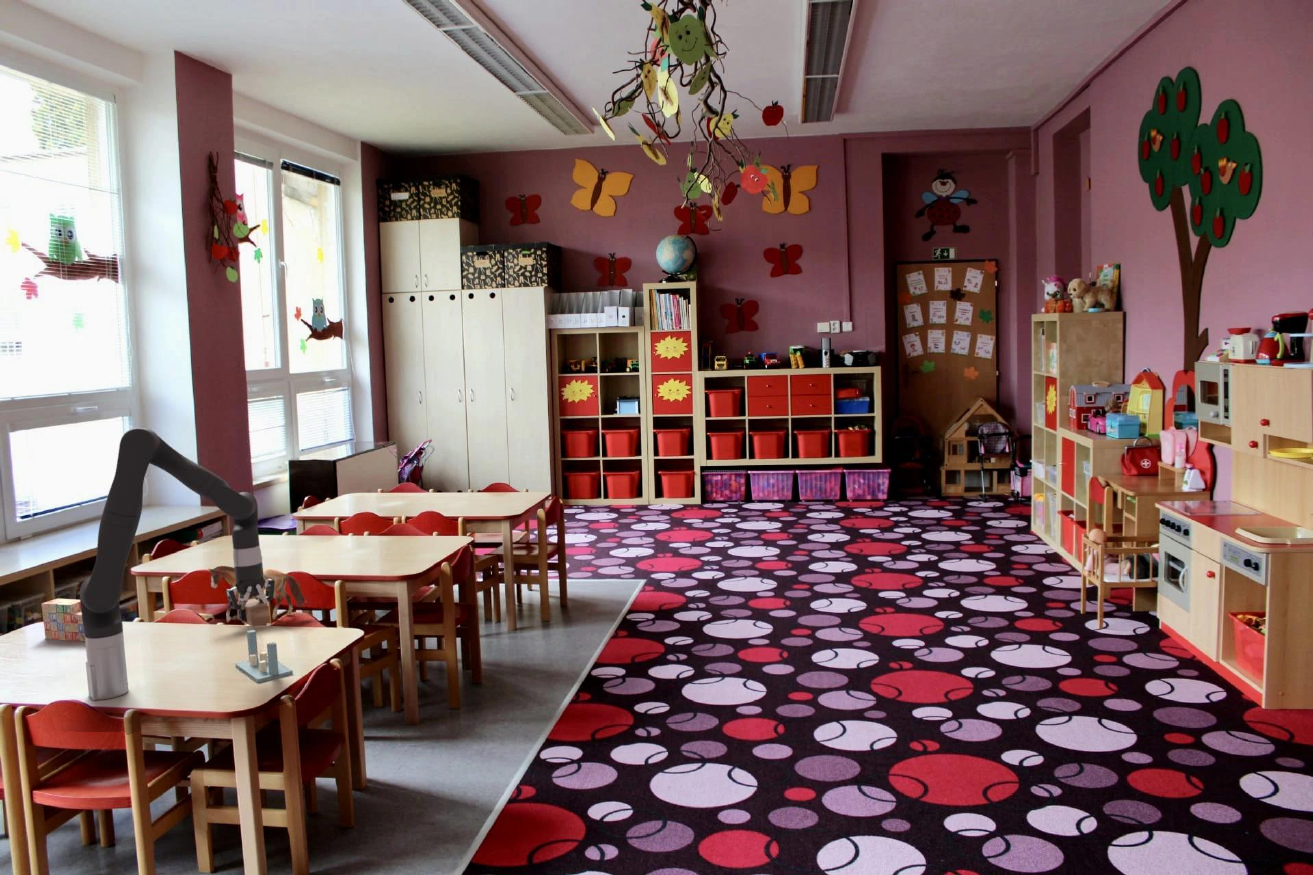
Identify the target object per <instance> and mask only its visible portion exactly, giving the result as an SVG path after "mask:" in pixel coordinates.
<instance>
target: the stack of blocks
mask: <svg viewBox="0 0 1313 875" xmlns="http://www.w3.org/2000/svg"><path fill="white" fill-rule="evenodd" d="M41 610H42V611H41V612H42V621H43V625H44V626H43V629H44V636H45V639H50V640H59V641H60V640H61V641H72V642H73V641H74V642H85V633H84V627H83V621H82V612H81V603H80V599H73V598H72V599H71V598H69V599H68V598H55V599H52V600H48V601H46V602H42V603H41Z"/></svg>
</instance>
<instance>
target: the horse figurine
mask: <svg viewBox="0 0 1313 875" xmlns="http://www.w3.org/2000/svg"><path fill="white" fill-rule="evenodd" d="M207 570H209V571H210V572H209V573H210V579H211V582H210V584H211V585H210V586H211V588H213V589H216V588H217V587H218V584H219V582H220V581H221V580H222V579H224V580H225V581H226V582H227V583H228V585H229V586H230V589H232V588H234V587H235V585H236V579H235V569H234V566H228V565H227V566H226V565H220V566H218V565H217V566H216V567H214V568H207ZM263 578H264V579H265V580H267V579H272V580H274V581H275V585H274V596H273V599H276V601H277V602H276V605H275V606H274V609H273V610H272V619H273V620H275V619H276V618H277V616H278V613H277V612H278V610H279V607H280V605H281V603H282V602H283V601H284V599H285V601H286V602H287V604H288V611H287V612H286V614H285V615H286V616H289V615H288V614H291V613H292V614H293V609H294V607H293V605H292V599H291V598H292V597H291V595H292V596H293V599H294V601H295V603H296V604H297V605H298V607H299V608H301V607H302V606H304V604H306V603H308V601H307V600H306V599H305V597H304V595H303V592H302V589H301V585H300V583H299V582H298V580H297V579H296V578H295V577H293V576H292V575H289V574H288V573H284V572H282V571H279V570H275V569H266V570H263ZM287 583H288V584H289V590H290V593H291V595H289V594H288V592H287V591H286V584H287ZM262 590H263V591H266V586H265V585H264V586H263V588H262ZM239 594H240V593H239V592H238V591H236V595H235V597H236V600H238V597H239ZM231 609H232V608H231V606H230V603H229V602H228V604H227V609H226V614H225V615H226V623H229V622H230V621H231V620H232V617H231V616H230V613H231ZM292 614H291V615H292ZM242 624H246V623H245V622H242Z"/></svg>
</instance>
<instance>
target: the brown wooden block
mask: <svg viewBox="0 0 1313 875" xmlns="http://www.w3.org/2000/svg"><path fill="white" fill-rule="evenodd" d="M237 603H238V601H237ZM236 610H237V612H236V613H237V619H238V620H240V619H239V613H238V609H236ZM245 610H246V618H247V622H245V623H244V624H247V625H248V626H250V627H252V628H253V627H254V628H255V627H259V626H263V625H267V624H271V615H270V606H269V605H268V604H267V605H266V604H264V603H262V602H260V601H259V599H257V598H248V602H247V603H246V606H245Z"/></svg>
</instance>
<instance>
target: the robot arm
mask: <svg viewBox="0 0 1313 875" xmlns="http://www.w3.org/2000/svg"><path fill="white" fill-rule="evenodd" d="M117 455H118V456H117V461H116V468H115V473H114V477H113V480H112V483H111V486H110V489H109V490H108V494H107V497H106V501H105V505H104V507H103V510H102V515H101V518H100V523H99V528H98V533H97V534H98V535H97V544H96V545H97V548H96V549H97V550H96V559H95V563H94V567H93V569H92V572H91V575H90V577H88V578H86V580H84V581H83V583H82V584H81V586H80V589H79V600H80V603H81V612H82V621H83V627H84V633H85V652H86V653H85V654H86V660H87V661H86V662H85V669H86V678H87V680H86V681H87V689H88V696H89V697H90V698H91V700H92V701H97V700H99V701H100V700H107V699H113V698H117V697H120V696H123V695H124V694H126V693H128V691H129V682H128V671H127V670H128V669H127V661H126V660H127V659H126V658H127V657H126V650H125V649H126V648H125V636H124V629H123V628H124V627H123V621H122V616H121V611H120V610H121V609H120V599H121V596H122V587H123V581H124V574H125V570H126V564H127V560H128V558H129V555H130V553H131V550H132V547H133V543H134V540H135V538H136V534H137V530H138V529H139V525H140V520H141V517H142V516H141V515H142V511H143V502H144V482H145V477H146V473H147V471H148V468H149V465H153V466H154V467H157V468H159V469H160V470H162V471H165V472H166V473H168V474H169V475H171V476H172V477H173V478H174V479H176V480H177V481H178V482H180V483H182V485H184V486H185V487H187V488H188V489H189V490H191V491H192V492H194V493H195V494H197V495H198V496H201V498H204V499H205V500H207V501H209V502H211V503H212V504H213V505H215V506H216V507H217V508H218V509H219V510H220V511H221V512H223V513H224V514H226V515H227V516H228V517H230V518H232V519H233V520H232V521H233V528H232V532H231V539H232V541H231V542H232V548H233V551H232V557H233V558H232V559H233V568H234V569H235V579H236V585H235V587H234V588H232V589H231V588H230V589H229V588H226V589H225V593H226V597H227V600H228V604H229V603H230V606H231V609H234V610H237V609H238V612H237V614H238V613H239V619H238V620H239V621H241V622H242V623H243V622H247V618H246V610H245V606H246V603H247V602H248V599H251V598H252V597H256V599H257V600H258V601H260V602H262V603H264V604H266V605H268V603H269V602H270V601H273V600H274V597H273V596H274V585H275V581H274V580H272V579H267V580H265V579H264V578H263V571H264V567H263V556H262V551H261V547H260V546H261V545H260V537H259V530H258V524H259V522H258V520H259V517H258V516H259V508H258V506H259V505H258V501H257V498H256V497H255V496H254V495H253V494H252V493H250V492H247V491H242V492H238V491H236V490H235V489H233V487H231V486H229V484H228V482H227V481H226V480H225V479H223V478H222V477H220V476H219V475H217V474H215V473H214V472H212V471H210V470H208V469H207V468H205V467H204V466H202V465H200V464H198V463H196V462H195V461H193V460H191V459H189V458H188V457H186V456H184V455H183V454H181V453H180V452H179V451H177V450H176V449H175V448H173V447H172V446H171V445H169V444H168V443H167V442H166V441H165V440H163V439H162V438H161V437H160V436H159V435H158V434H157V432H155V431H154V430H152V429H150V428H144V427H134V428H131V429H129V430H127V431H126V432H125V433H124V434H123V435H122V437H121V439H120V442H119V446H118V453H117ZM264 585H265V586H266V589H265V592H264V590H262V588H263V586H264ZM236 591H238V592H239V593H240V594H239V597H238V598H237V599H236V597H235V595H236ZM237 602H238V603H237Z"/></svg>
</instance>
